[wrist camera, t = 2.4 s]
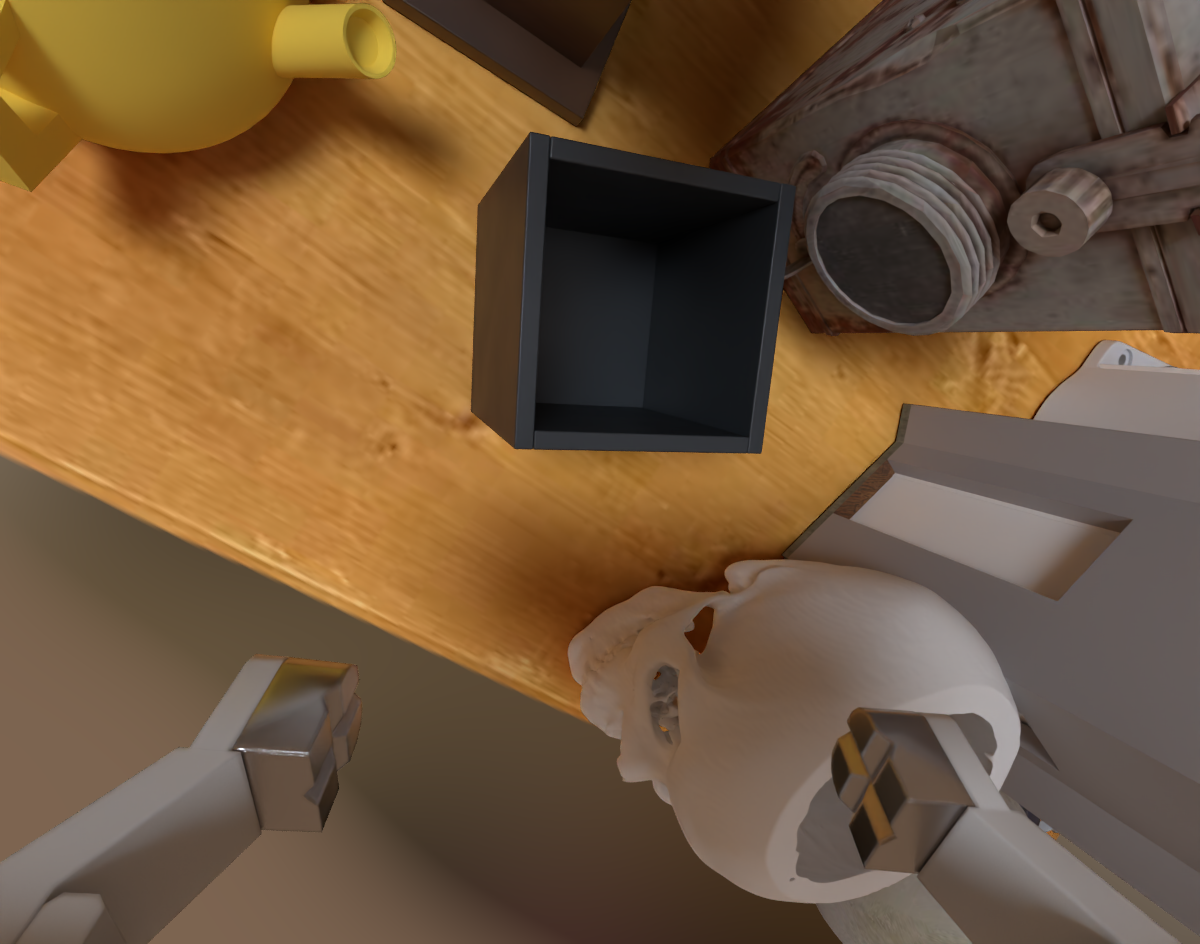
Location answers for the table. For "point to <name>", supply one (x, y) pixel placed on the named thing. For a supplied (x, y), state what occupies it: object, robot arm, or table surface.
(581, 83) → the stand
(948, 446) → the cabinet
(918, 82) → the lantern
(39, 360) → the table surface
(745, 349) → the trash can
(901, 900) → the decorative sphere
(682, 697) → the skull
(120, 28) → the teapot
